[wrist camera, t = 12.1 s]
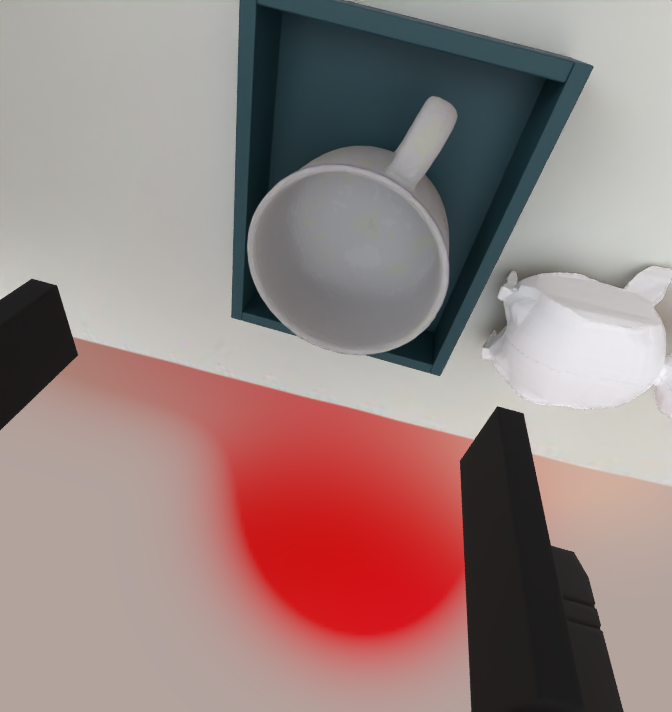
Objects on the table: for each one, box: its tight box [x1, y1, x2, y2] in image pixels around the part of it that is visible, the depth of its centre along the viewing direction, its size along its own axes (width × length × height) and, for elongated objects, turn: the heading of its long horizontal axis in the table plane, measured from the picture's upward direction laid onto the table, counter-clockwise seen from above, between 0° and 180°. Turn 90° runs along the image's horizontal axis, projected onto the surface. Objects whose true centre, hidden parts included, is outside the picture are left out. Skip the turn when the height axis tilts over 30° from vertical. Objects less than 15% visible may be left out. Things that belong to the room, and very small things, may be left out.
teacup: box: [247, 96, 457, 355], centre depth 24 cm, size 14×11×8 cm
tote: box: [231, 0, 593, 376], centre depth 26 cm, size 16×19×5 cm
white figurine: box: [481, 265, 672, 419], centre depth 27 cm, size 9×8×15 cm
